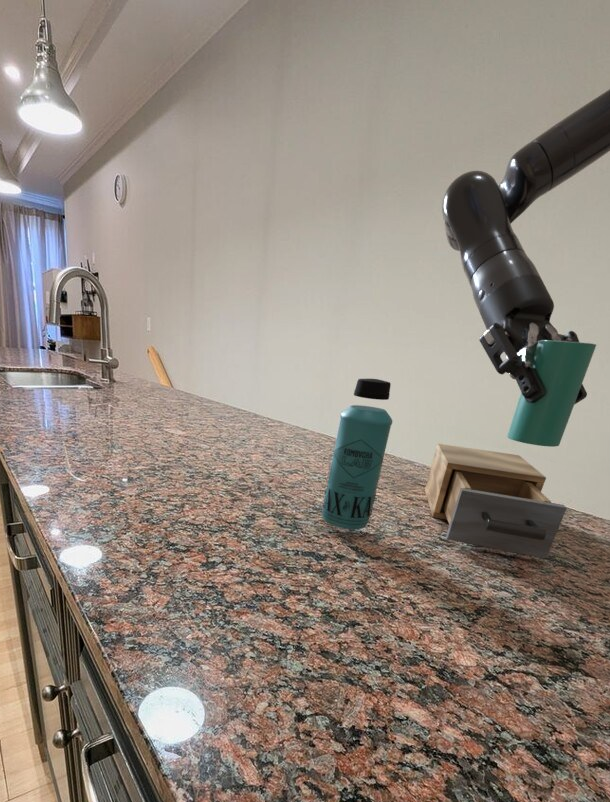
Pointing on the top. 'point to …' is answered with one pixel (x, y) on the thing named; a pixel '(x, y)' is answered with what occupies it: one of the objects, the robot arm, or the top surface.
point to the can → (552, 392)
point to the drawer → (501, 513)
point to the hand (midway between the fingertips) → (557, 399)
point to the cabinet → (477, 463)
